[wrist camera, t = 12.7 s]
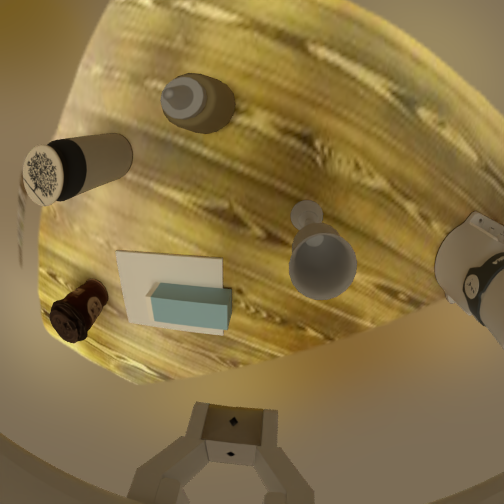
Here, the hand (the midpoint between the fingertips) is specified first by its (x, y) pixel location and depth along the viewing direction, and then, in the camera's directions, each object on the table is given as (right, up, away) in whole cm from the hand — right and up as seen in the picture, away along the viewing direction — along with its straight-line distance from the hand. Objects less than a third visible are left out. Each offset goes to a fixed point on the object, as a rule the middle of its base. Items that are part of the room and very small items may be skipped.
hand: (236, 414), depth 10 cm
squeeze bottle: (-5, +27, +30) cm, 41 cm away
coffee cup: (-31, -2, +45) cm, 55 cm away
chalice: (+9, +12, +35) cm, 38 cm away
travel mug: (-23, +22, +33) cm, 46 cm away
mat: (-14, -2, +43) cm, 45 cm away
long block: (-3, -4, +39) cm, 39 cm away
